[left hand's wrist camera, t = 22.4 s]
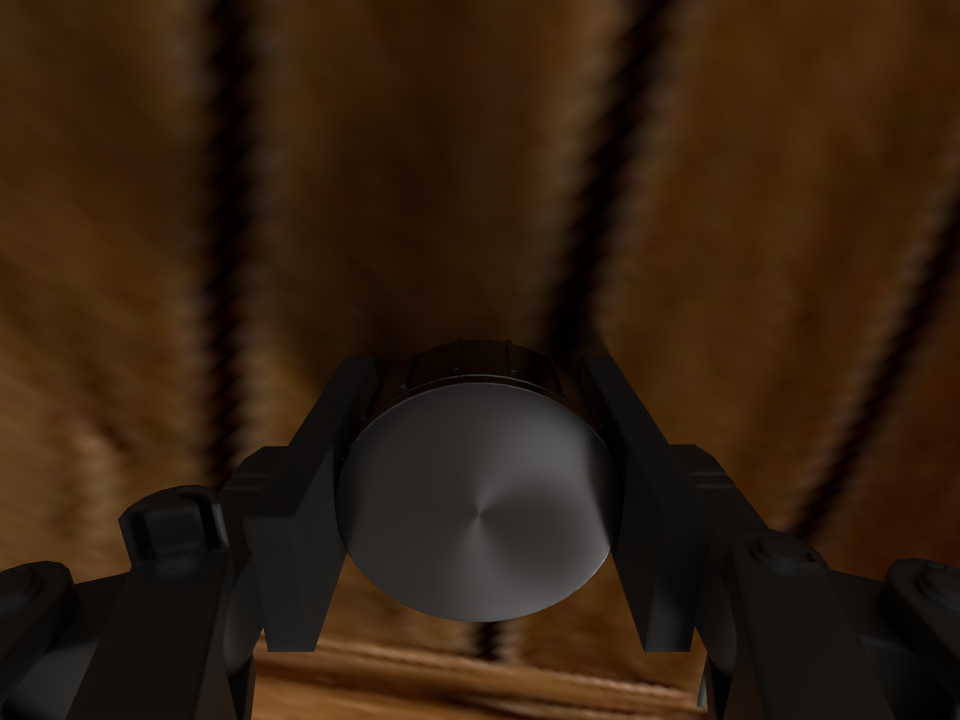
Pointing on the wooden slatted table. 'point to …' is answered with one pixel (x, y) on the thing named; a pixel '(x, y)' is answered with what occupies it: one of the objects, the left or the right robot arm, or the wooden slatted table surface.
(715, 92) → the wooden slatted table surface
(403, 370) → the lid
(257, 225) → the wooden slatted table surface
